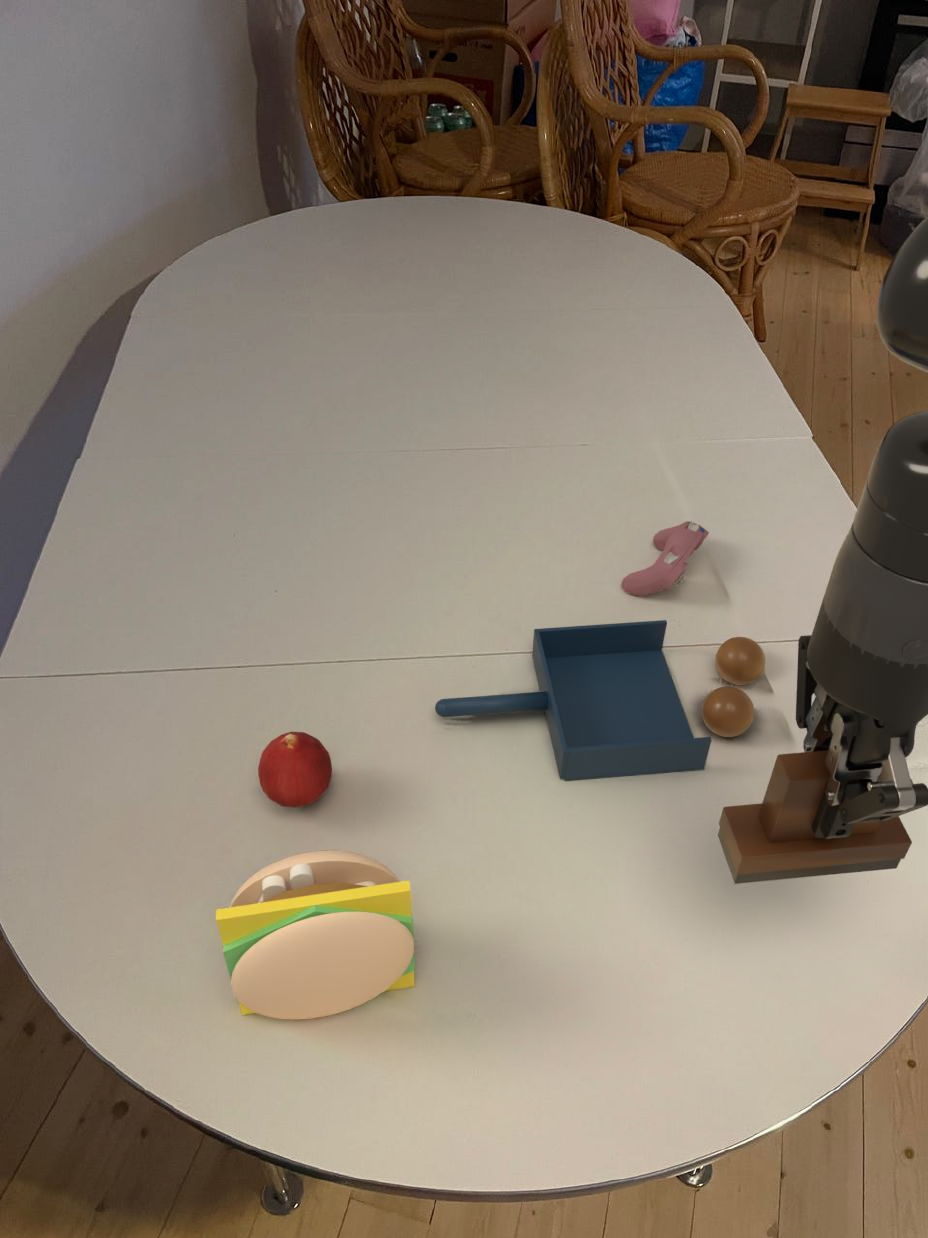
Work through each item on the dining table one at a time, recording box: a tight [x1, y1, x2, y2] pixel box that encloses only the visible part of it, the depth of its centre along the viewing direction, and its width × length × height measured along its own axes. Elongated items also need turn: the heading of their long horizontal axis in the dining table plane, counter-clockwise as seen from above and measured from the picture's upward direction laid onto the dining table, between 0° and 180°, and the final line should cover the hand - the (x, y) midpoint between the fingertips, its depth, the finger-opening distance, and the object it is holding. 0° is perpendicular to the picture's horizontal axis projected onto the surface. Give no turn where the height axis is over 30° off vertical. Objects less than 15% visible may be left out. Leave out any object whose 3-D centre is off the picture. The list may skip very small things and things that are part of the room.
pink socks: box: [621, 520, 709, 596], centre depth 105 cm, size 10×5×7 cm, turn 150°
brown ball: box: [714, 636, 766, 686], centre depth 95 cm, size 4×4×4 cm
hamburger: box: [215, 850, 416, 1021], centre depth 70 cm, size 12×8×12 cm
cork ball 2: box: [701, 685, 755, 738], centre depth 90 cm, size 4×4×4 cm
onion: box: [257, 731, 333, 808], centre depth 83 cm, size 6×6×8 cm
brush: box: [717, 750, 913, 885], centre depth 65 cm, size 4×11×9 cm, turn 96°
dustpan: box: [434, 619, 712, 782], centre depth 91 cm, size 22×15×4 cm
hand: (820, 813), depth 66 cm, fingers closed on brush, 2 cm apart
